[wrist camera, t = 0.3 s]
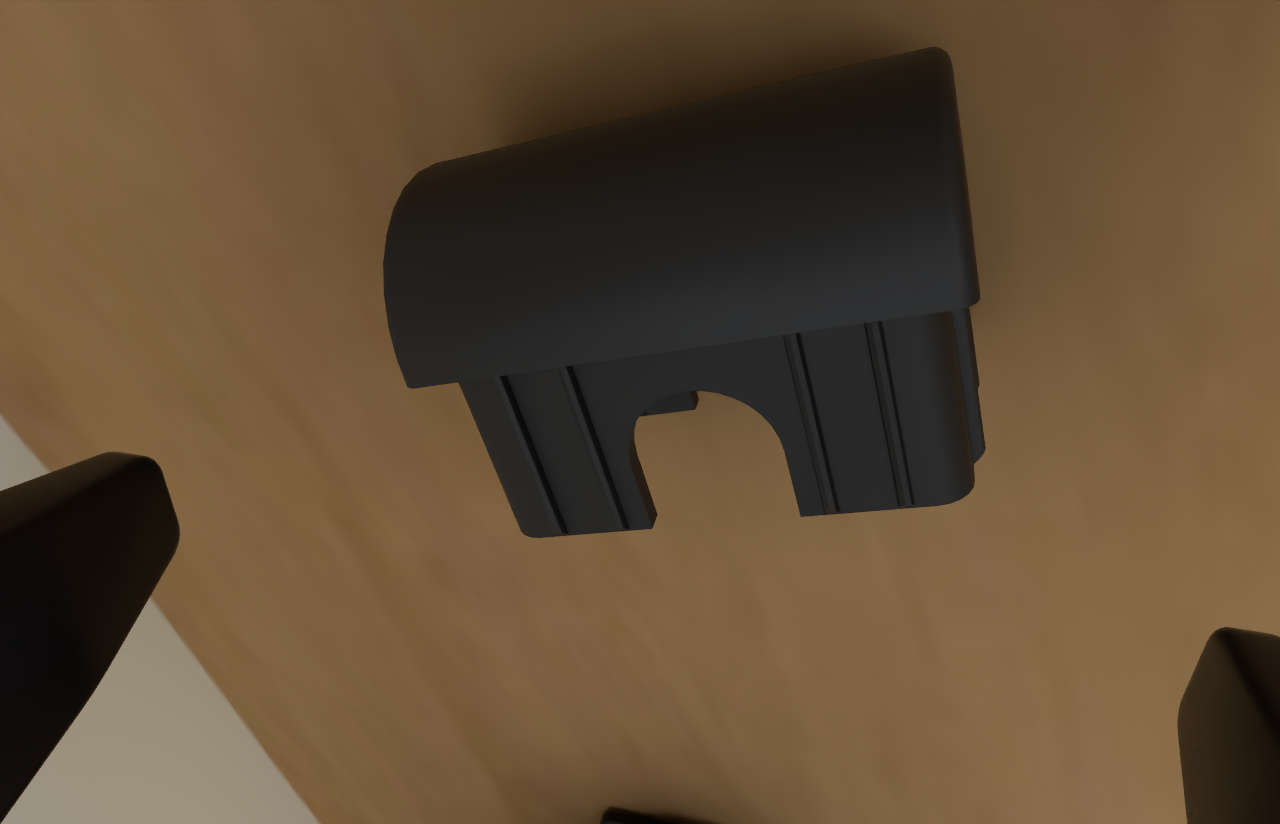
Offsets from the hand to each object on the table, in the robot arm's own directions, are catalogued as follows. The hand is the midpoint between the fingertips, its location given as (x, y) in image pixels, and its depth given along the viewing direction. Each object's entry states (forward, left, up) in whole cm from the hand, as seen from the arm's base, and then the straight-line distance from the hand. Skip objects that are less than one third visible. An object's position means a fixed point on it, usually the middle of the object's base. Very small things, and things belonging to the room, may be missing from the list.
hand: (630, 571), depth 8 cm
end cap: (-3, +1, -15) cm, 15 cm away
